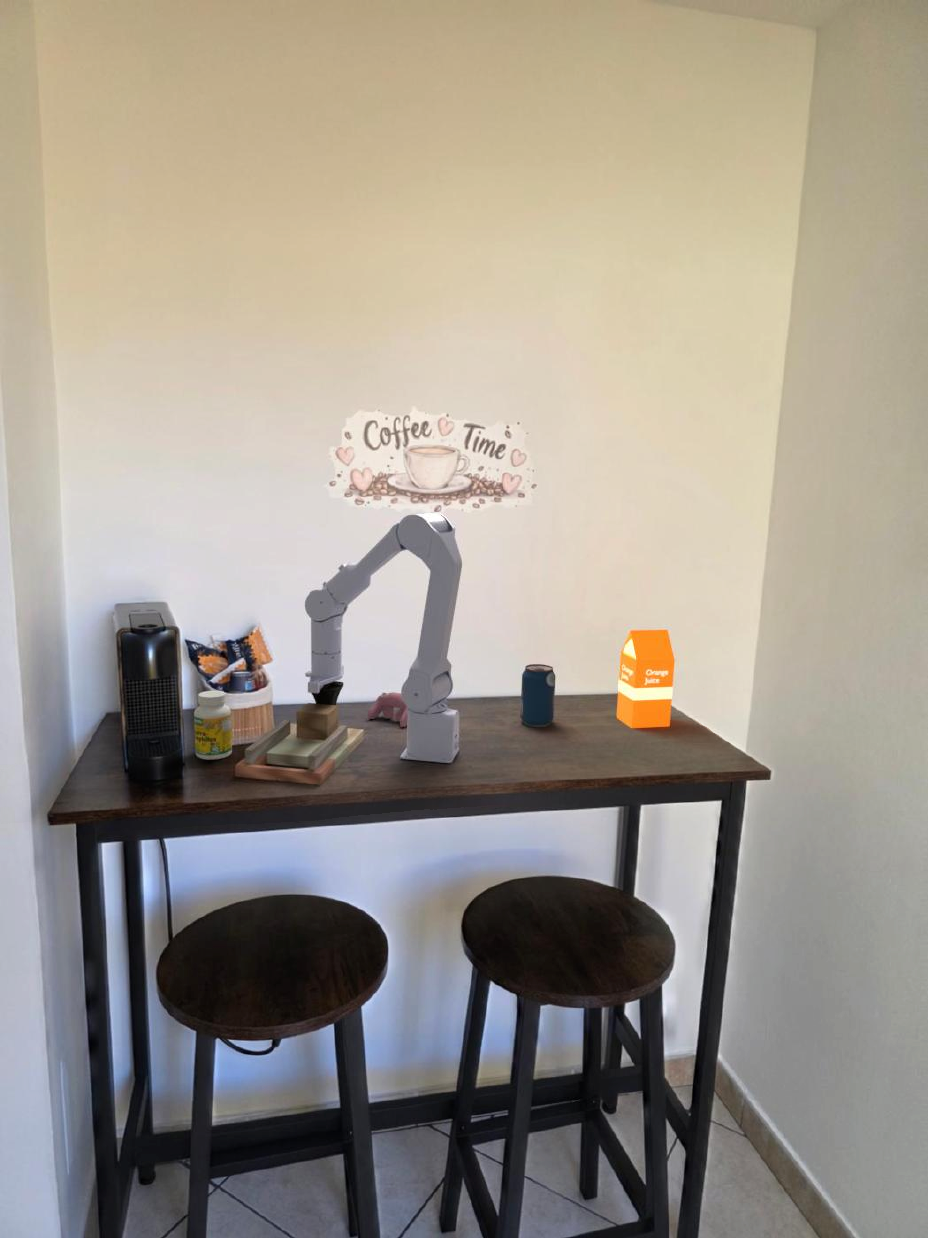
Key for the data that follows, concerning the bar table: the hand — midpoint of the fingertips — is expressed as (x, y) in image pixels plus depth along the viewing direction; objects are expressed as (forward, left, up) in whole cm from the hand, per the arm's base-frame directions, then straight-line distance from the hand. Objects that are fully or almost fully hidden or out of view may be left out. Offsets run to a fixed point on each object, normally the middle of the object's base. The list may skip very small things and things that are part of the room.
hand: (326, 719), depth 160 cm
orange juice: (-61, -27, -4) cm, 67 cm away
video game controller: (-10, -13, -4) cm, 17 cm away
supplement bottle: (+16, +15, -4) cm, 22 cm away
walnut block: (0, +5, -1) cm, 5 cm away
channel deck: (0, +12, -3) cm, 12 cm away
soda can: (-39, -20, -4) cm, 44 cm away
